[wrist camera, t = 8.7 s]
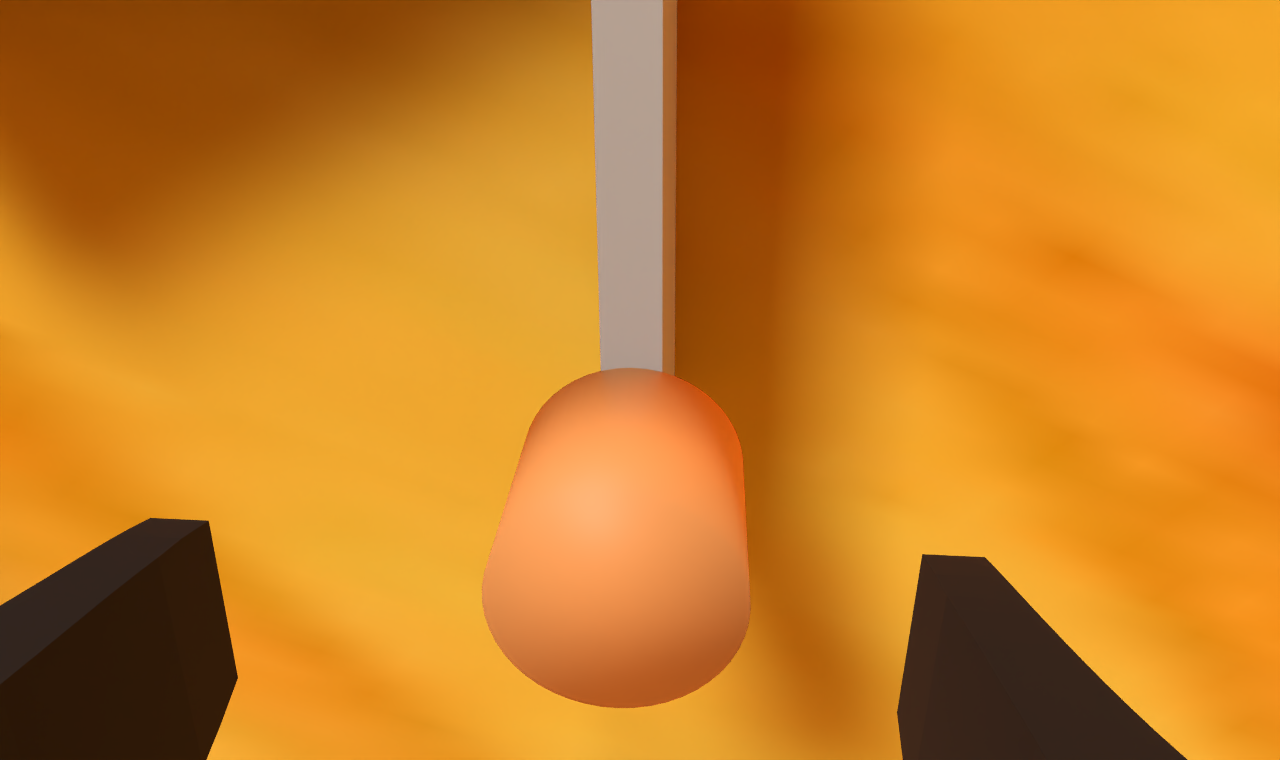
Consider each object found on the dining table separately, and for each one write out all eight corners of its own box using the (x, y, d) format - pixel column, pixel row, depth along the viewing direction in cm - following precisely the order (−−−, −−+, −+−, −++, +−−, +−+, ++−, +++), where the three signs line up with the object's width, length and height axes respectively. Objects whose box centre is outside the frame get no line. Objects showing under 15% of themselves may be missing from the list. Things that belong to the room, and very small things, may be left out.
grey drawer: (731, 399, 21) (744, 744, 13) (576, 396, 21) (493, 735, 13) (764, -612, 14) (831, -1186, 6) (538, -605, 15) (328, -1153, 7)
